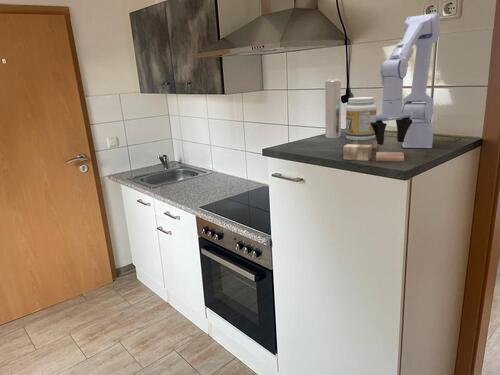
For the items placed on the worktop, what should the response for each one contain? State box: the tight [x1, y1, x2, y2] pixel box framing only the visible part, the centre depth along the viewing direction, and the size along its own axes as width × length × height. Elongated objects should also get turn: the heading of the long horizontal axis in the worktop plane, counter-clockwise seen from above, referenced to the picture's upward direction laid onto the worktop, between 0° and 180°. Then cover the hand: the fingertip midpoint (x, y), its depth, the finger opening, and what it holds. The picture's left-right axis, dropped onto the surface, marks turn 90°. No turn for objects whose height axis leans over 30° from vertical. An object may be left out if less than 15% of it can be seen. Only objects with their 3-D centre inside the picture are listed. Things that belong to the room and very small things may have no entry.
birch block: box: [342, 143, 372, 162], centre depth 126 cm, size 4×4×8 cm
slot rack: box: [352, 140, 379, 156], centre depth 138 cm, size 8×14×2 cm, turn 161°
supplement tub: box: [345, 96, 378, 142], centre depth 160 cm, size 12×12×17 cm
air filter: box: [324, 78, 342, 139], centre depth 166 cm, size 6×6×25 cm
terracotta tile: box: [375, 151, 405, 162], centre depth 125 cm, size 8×9×1 cm
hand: (390, 143), depth 123 cm, fingers open, 7 cm apart
